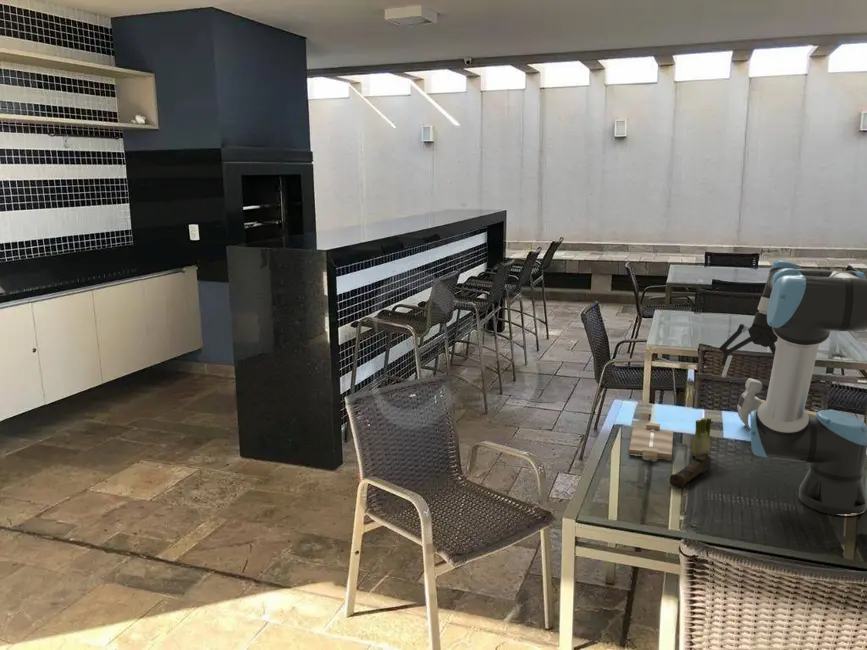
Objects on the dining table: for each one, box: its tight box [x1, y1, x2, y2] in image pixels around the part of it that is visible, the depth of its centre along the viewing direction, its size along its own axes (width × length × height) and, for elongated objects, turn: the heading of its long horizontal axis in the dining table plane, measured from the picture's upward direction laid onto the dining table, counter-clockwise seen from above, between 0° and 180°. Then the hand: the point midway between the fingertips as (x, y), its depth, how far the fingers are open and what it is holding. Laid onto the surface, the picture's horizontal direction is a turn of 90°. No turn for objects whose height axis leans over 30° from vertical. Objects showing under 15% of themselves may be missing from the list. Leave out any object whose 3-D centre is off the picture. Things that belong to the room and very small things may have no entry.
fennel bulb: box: [690, 417, 712, 458], centre depth 205 cm, size 6×5×12 cm
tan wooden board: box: [628, 422, 674, 462], centre depth 213 cm, size 22×12×3 cm, turn 161°
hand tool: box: [669, 453, 709, 490], centre depth 193 cm, size 19×4×5 cm, turn 132°
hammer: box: [736, 377, 818, 431], centre depth 225 cm, size 16×5×30 cm
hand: (747, 384), depth 204 cm, fingers open, 13 cm apart
